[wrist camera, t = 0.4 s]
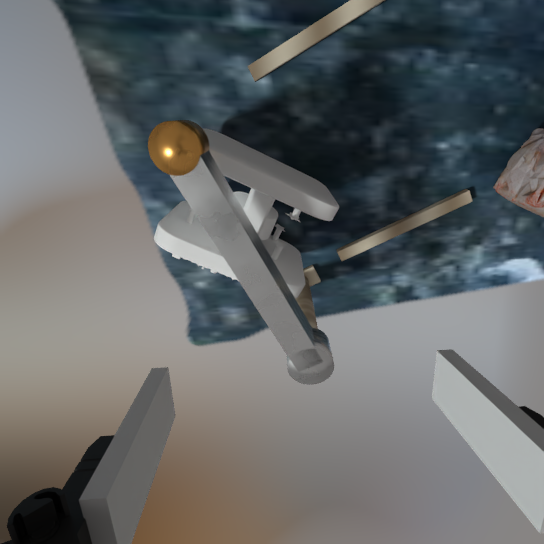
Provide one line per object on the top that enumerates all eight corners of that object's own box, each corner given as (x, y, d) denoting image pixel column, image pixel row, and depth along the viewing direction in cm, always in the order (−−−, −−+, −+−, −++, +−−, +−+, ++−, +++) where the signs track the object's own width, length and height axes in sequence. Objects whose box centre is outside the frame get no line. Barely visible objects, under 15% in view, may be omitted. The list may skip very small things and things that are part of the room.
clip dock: (405, -34, 29) (491, -132, 17) (471, 210, 38) (555, 253, 27) (178, 112, 34) (127, 112, 22) (286, 294, 43) (289, 360, 32)
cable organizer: (332, 185, 37) (353, 213, 27) (291, 261, 41) (296, 311, 31) (208, 125, 35) (179, 130, 24) (179, 213, 39) (143, 249, 28)
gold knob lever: (197, 107, 22) (185, 107, 19) (335, 351, 31) (341, 375, 28) (150, 137, 23) (132, 141, 20) (297, 366, 32) (300, 391, 29)
